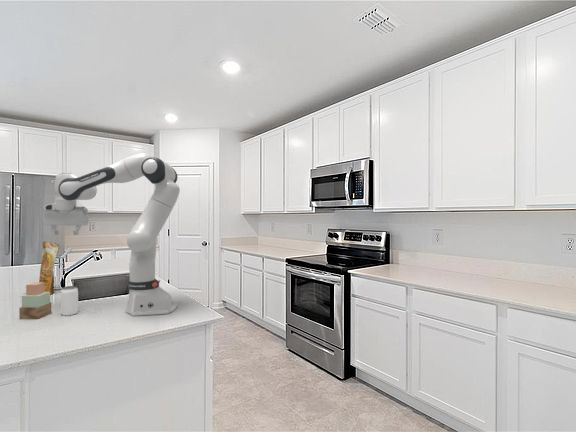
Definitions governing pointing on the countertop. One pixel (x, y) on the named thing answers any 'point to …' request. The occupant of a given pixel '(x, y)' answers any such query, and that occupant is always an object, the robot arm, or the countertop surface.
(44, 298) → the tower top
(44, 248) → the pancake mix bag
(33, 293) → the cube
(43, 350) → the countertop surface
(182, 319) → the countertop surface
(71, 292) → the can
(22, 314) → the tower base
